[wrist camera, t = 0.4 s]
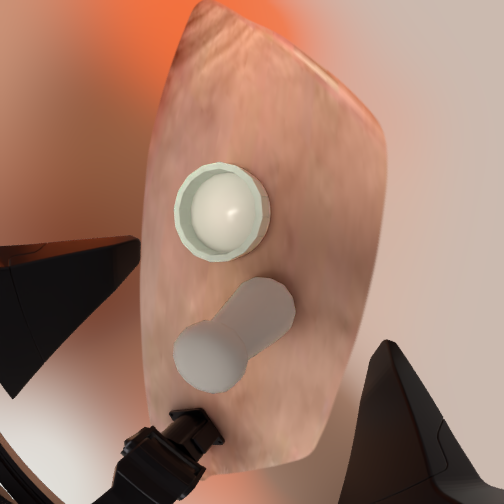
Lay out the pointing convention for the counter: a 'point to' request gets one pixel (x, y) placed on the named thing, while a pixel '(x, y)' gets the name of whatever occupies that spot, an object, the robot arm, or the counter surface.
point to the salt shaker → (234, 335)
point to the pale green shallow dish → (221, 212)
